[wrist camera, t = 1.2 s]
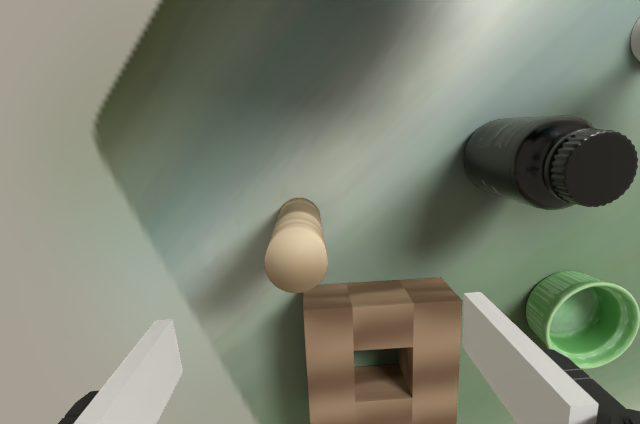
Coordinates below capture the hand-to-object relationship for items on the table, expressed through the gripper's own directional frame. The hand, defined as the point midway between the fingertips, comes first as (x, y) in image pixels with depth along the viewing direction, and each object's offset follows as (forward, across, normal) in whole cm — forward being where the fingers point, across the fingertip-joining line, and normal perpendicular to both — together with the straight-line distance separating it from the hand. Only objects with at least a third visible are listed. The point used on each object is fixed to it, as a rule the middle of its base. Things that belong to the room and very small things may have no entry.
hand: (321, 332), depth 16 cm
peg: (+19, -1, +1) cm, 19 cm away
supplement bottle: (+19, +18, +5) cm, 27 cm away
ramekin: (+19, +25, -11) cm, 34 cm away
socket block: (+19, +5, -14) cm, 24 cm away
